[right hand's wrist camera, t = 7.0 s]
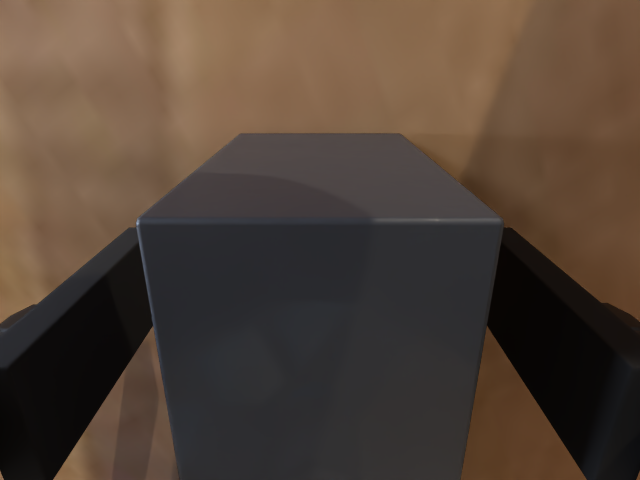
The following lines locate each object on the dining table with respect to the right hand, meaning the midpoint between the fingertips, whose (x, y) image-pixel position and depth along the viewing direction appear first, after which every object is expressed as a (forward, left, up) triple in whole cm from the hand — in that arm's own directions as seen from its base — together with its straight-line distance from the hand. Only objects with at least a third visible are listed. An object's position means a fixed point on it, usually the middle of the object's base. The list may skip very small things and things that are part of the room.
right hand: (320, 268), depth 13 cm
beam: (+5, -13, -1) cm, 14 cm away
